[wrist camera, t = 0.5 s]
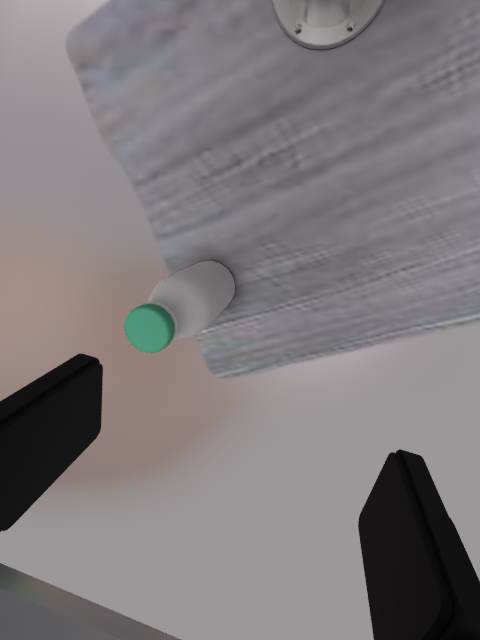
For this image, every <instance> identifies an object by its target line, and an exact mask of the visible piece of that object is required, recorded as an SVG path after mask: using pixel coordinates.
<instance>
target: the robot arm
mask: <svg viewBox="0 0 480 640" xmlns="http://www.w3.org/2000/svg"><path fill="white" fill-rule="evenodd" d="M384 1H385V0H272V4H273V8H274V12H275V15H276V17H277V20H278V22H279V24H280V25H281V27H282V29H283V30H284V32H285V33H286V34H287V35H288V36H289V37H290V38H291V39H292V40H293V41H295V42H296V43H298V44H300V45H301V46H304V47H307V48H310V49H320V50H323V49H330V48H334V47H337V46H340V45H342V44H345V43H346V42H348V41H350V40H351V39H353V38H355V37H356V36H357V35H358V34H359V33H360V32H362V31H363V30H364V29H365V28H366V27H367V26H368V25H369V23H370V22H371V21H372V20H373V19H374V18H375V16H376V14H377V13H378V11H379V10H380V8H381V6H382V5H383V3H384ZM348 29H352V31H351V32H348V31H347V30H348ZM298 31H300V32H301V33H300V34H296V33H297V32H298ZM102 375H103V367H102V365H101V364H100V363H99V360H98V359H97V358H95V357H92V356H88V355H85V354H78V355H76V356H74V357H73V358H71V359H69V360H68V361H66V362H64V363H63V364H62V365H60V366H58V367H57V368H55V369H53V370H52V371H50V372H48V373H46V374H45V375H43V376H42V377H40V378H38V379H36V380H35V381H33V382H32V383H30V384H28V385H27V386H25V387H23V388H22V389H20V390H18V391H17V392H15V393H13V394H12V395H10V396H9V397H7V398H5V399H3V400H2V401H0V532H1V531H5V530H7V529H9V528H10V527H11V526H12V525H13V524H14V523H15V522H16V521H17V520H18V519H19V518H20V517H21V516H22V515H23V514H24V513H25V512H26V511H27V510H28V509H29V508H30V506H31V505H32V504H33V503H34V502H35V501H36V500H37V499H38V498H39V497H40V496H41V495H42V494H43V493H44V492H45V491H46V490H47V489H48V488H49V487H50V486H51V485H52V484H53V483H54V482H55V480H56V479H57V478H58V477H59V476H60V475H61V474H62V473H63V472H64V471H65V470H66V469H67V468H68V467H69V466H70V465H71V464H72V463H73V462H74V461H75V460H76V459H77V457H78V456H79V455H80V454H81V453H82V452H83V451H84V450H85V449H86V448H87V447H88V446H89V445H90V444H91V443H92V442H93V441H94V440H95V439H96V438H97V436H98V434H99V432H100V429H101V408H102V407H101V406H102ZM358 527H359V535H360V543H361V550H362V556H363V564H364V571H365V577H366V585H367V592H368V600H369V607H370V613H371V620H372V628H373V635H374V640H480V581H479V579H478V577H477V575H476V573H475V570H474V568H473V566H472V563H471V561H470V559H469V557H468V554H467V552H466V550H465V548H464V545H463V543H462V541H461V539H460V537H459V534H458V532H457V530H456V528H455V525H454V524H453V522H452V520H451V518H449V516H448V514H447V512H446V509H445V507H444V505H443V502H442V500H441V498H440V496H439V494H438V491H437V489H436V487H435V484H434V482H433V480H432V478H431V475H430V473H429V471H428V468H427V466H426V464H425V462H424V459H423V458H422V457H421V456H420V455H417V454H413V453H410V452H407V451H403V450H398V451H397V452H396V453H393V452H392V453H390V454H389V455H388V457H387V460H386V461H385V464H384V466H383V468H382V470H381V472H380V474H379V476H378V478H377V480H376V482H375V484H374V487H373V489H372V491H371V493H370V495H369V497H368V499H367V501H366V503H365V505H364V507H363V510H362V512H361V514H360V517H359V525H358ZM0 640H181V639H178V638H176V637H174V636H171V635H169V634H167V633H164V632H162V631H160V630H157V629H155V628H152V627H150V626H148V625H146V624H143V623H141V622H138V621H136V620H134V619H132V618H129V617H127V616H124V615H122V614H119V613H117V612H115V611H113V610H110V609H108V608H106V607H103V606H101V605H99V604H96V603H94V602H91V601H89V600H87V599H84V598H82V597H80V596H77V595H75V594H73V593H70V592H68V591H65V590H63V589H61V588H58V587H56V586H54V585H51V584H49V583H46V582H44V581H41V580H39V579H37V578H34V577H32V576H30V575H27V574H25V573H22V572H20V571H18V570H15V569H13V568H10V567H8V566H5V565H3V564H1V563H0Z"/></svg>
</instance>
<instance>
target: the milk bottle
mask: <svg viewBox="0 0 480 640" xmlns="http://www.w3.org/2000/svg"><path fill="white" fill-rule="evenodd" d="M234 293H235V283H234V279H233V276H232V274H231V273H230V271H229V270H228V269H227V268H226V267H225V266H224V265H222V264H220V263H218V262H215V261H202V262H199V263H196V264H194V265H192V266H189V267H187V268H185V269H182V270H180V271H178V272H176V273H174V274H172V275H170V276H168V277H166V278H164V279H163V280H162V281H160V283H158V284H157V285H156V286H155V288H154V289H153V290H152V292H151V294H150V296H149V299H148V302H147V303H144V304H143V305H141V306H139V307H137V308H135V309H134V310H132V311H131V312H130V313H129V314H128V316H127V318H126V320H125V333H126V335H127V338H128V340H129V341H130V342H131V344H132V345H134V347H136V348H137V349H138V350H141V351H143V352H146V353H155V352H158V351H161V350H162V349H164V348H165V347H167V346H168V345H169V344H170V343H171V342H172V341H173V340H174V339H182V338H188V337H191V336H194V335H196V334H198V333H199V332H201V331H202V330H204V329H205V328H206V327H207V326H208V325H209V324H210V323H211V322H212V321H213V320H214V319H215V318H216V317H217V316H218V315H219V314H220V313H221V312H222V311H223V310H224V309H225V308H226V307H227V306H228V304H229V303H230V302H231V300H232V298H233V296H234Z"/></svg>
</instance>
